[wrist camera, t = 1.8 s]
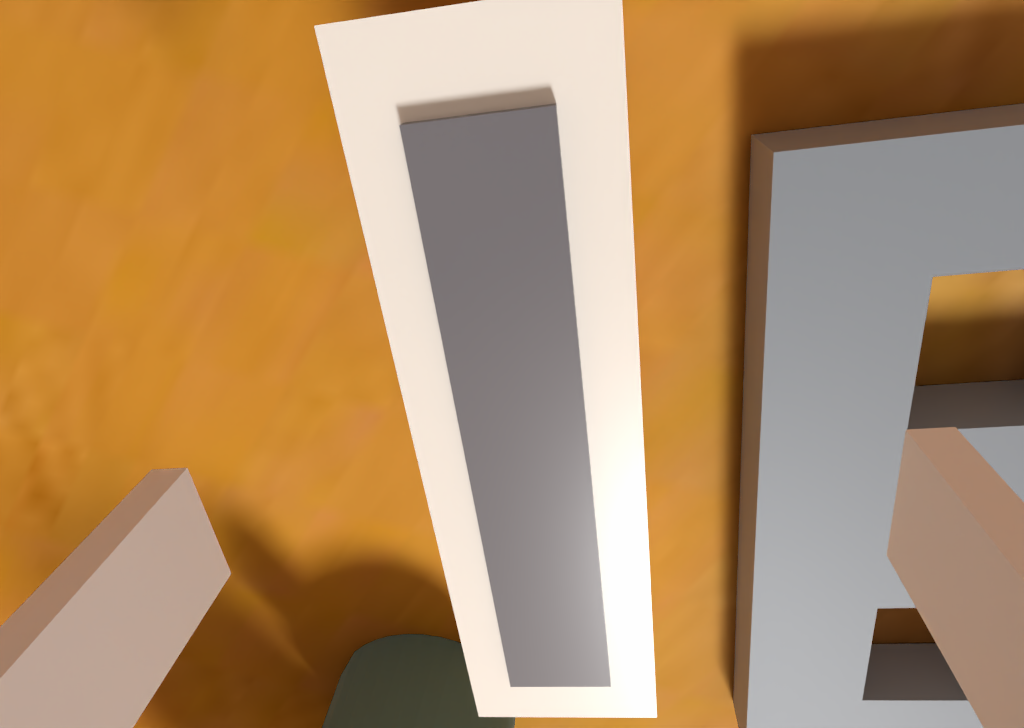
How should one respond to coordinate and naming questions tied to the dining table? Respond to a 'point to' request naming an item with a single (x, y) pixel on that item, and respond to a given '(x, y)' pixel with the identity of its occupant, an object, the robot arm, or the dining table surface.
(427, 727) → the bracket
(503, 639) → the block
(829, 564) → the board
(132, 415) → the dining table surface
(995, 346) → the dining table surface
